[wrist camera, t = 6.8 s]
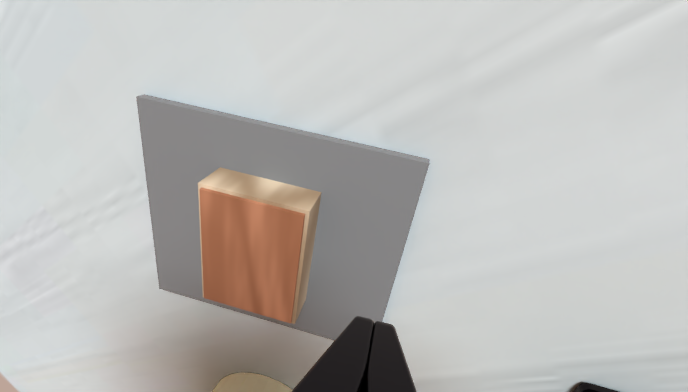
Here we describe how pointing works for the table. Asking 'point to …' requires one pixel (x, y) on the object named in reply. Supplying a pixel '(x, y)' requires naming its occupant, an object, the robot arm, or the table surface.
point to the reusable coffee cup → (250, 384)
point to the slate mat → (295, 169)
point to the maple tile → (256, 242)
